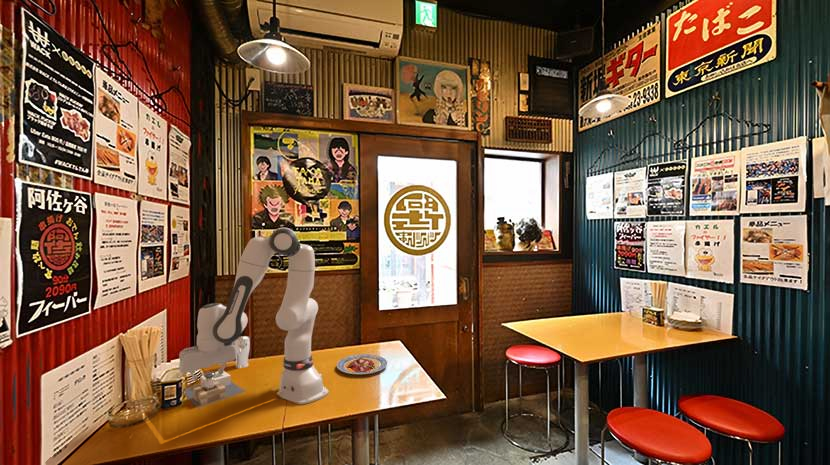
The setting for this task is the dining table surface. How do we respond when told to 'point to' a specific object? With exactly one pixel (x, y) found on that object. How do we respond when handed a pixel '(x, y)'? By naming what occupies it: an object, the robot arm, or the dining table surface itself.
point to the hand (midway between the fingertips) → (208, 377)
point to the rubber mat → (230, 391)
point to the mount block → (209, 393)
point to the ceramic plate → (361, 364)
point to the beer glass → (242, 351)
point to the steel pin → (209, 380)
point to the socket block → (219, 378)
